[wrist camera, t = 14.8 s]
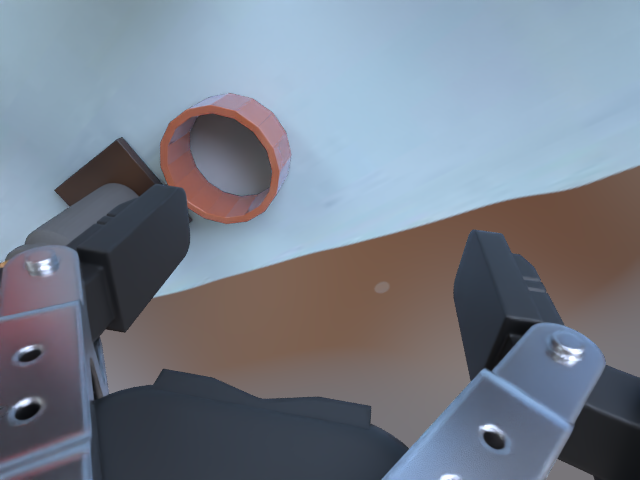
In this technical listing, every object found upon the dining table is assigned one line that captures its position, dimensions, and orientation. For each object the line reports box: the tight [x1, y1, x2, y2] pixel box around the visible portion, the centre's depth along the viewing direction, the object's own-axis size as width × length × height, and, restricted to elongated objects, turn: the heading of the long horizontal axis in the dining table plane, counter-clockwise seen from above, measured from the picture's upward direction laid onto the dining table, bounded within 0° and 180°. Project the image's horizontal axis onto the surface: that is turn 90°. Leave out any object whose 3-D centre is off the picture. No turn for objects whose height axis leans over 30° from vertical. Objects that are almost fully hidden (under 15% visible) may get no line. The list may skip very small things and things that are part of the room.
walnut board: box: [54, 137, 192, 223], centre depth 46 cm, size 11×11×1 cm
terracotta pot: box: [160, 93, 291, 224], centre depth 39 cm, size 11×11×5 cm
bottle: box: [0, 183, 139, 268], centre depth 39 cm, size 6×6×15 cm
